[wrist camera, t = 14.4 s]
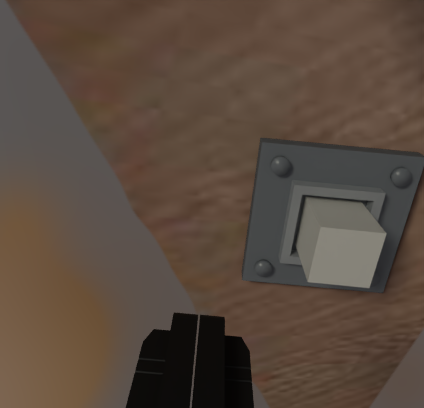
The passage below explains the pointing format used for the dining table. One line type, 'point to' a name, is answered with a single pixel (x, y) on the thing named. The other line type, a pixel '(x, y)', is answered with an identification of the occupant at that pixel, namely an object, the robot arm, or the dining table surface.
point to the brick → (338, 242)
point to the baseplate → (324, 188)
